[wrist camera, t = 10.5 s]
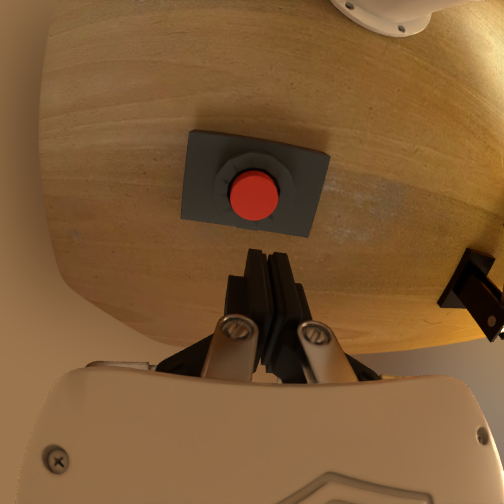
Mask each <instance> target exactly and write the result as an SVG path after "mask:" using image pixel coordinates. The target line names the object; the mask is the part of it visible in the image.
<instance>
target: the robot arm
mask: <svg viewBox="0 0 504 504" xmlns="http://www.w3.org/2000/svg"><path fill="white" fill-rule="evenodd" d="M330 1H331V2H332V4H333V5H334V6H335V7H336V8H337V9H339V10H340V11H341V12H342V13H343V14H344V15H346V16H347V17H348V18H350V19H351V20H352V21H354V22H355V23H357V24H359V25H361V26H363V27H364V28H366V29H369V30H371V31H373V32H376V33H379V34H382V35H386V36H392V37H407V36H410V35H414V34H417V33H419V32H421V31H422V30H423V29H424V28H426V27H427V25H428V23H429V21H430V18H431V14H432V13H433V12H437V11H440V10H444V9H447V8H451V7H455V6H459V5H464V4H468V3H473V2H478V1H484V0H330ZM346 7H348V8H349V9H348V8H346ZM260 357H261V365H265V366H266V373H273V374H274V375H276V376H277V377H278V378H277V383H255V382H251V381H252V374H253V373H254V372H256V369H257V366H258V363H259V360H260ZM66 452H67V453H66ZM15 504H504V472H503V468H502V464H501V461H500V457H499V454H498V451H497V448H496V445H495V442H494V439H493V437H492V434H491V431H490V429H489V426H488V424H487V421H486V419H485V417H484V415H483V412H482V410H481V408H480V406H479V404H478V402H477V400H476V399H475V397H474V395H473V393H472V392H471V390H470V389H469V387H468V386H467V385H466V384H465V383H464V382H462V381H461V380H458V379H456V378H452V377H449V376H443V375H423V376H412V377H401V376H393V375H384V374H381V375H380V376H378V375H377V374H376V373H375V372H374V371H373V370H371V369H370V368H368V367H366V366H365V365H363V364H362V363H360V362H358V361H357V360H356V359H354V358H352V357H351V356H349V355H348V354H346V353H345V352H344V351H343V350H342V348H341V346H340V344H339V342H338V340H337V338H336V336H335V334H334V332H333V331H332V330H331V328H330V327H328V326H327V325H326V324H324V323H322V322H319V321H314V320H312V317H311V313H310V310H309V306H308V303H307V300H306V296H305V293H304V289H303V286H302V284H300V283H295V281H294V278H293V274H292V270H291V267H290V263H289V260H288V256H287V254H286V253H279V252H274V253H273V255H270V254H269V256H268V260H267V257H266V254H263V253H262V250H257V249H249V251H248V255H247V261H246V266H245V272H244V277H241V276H233V275H229V277H228V283H227V290H226V298H225V309H224V316H223V317H222V318H220V319H219V321H218V322H217V325H216V328H215V331H214V333H213V334H212V335H210V336H208V337H206V338H204V339H203V340H201V341H199V342H197V343H195V344H193V345H191V346H190V347H188V348H186V349H184V350H182V351H180V352H178V353H176V354H174V355H173V356H171V357H169V358H167V359H165V360H163V361H162V362H160V363H159V364H158V365H149V362H113V361H112V362H111V361H94V362H91V363H89V364H88V365H87V366H86V367H84V368H79V369H75V370H71V371H69V372H67V373H65V374H64V375H63V376H61V377H60V378H59V379H58V380H57V381H56V382H55V383H54V385H53V386H52V387H51V389H50V390H49V392H48V394H47V396H46V397H45V399H44V401H43V403H42V406H41V408H40V410H39V412H38V414H37V417H36V419H35V422H34V425H33V428H32V430H31V433H30V436H29V439H28V443H27V446H26V450H25V453H24V457H23V462H22V465H21V470H20V474H19V479H18V486H17V493H16V500H15Z"/></svg>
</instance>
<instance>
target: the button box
mask: <svg viewBox="0 0 504 504" xmlns="http://www.w3.org/2000/svg"><path fill="white" fill-rule="evenodd" d="M329 161H330V156H329V155H327V154H326V153H324V152H322V151H317V150H313V149H309V148H305V147H300V146H296V145H291V144H286V143H281V142H276V141H271V140H266V139H260V138H254V137H248V136H242V135H235V134H228V133H221V132H213V131H204V130H192V131H190V132H189V138H188V146H187V155H186V163H185V173H184V183H183V195H182V207H181V219H186V220H193V221H200V222H208V223H215V224H222V225H229V226H235V227H237V228H242V229H249V230H256V231H257V230H262V231H269V232H275V233H282V234H288V235H294V236H300V237H307V238H308V236H309V233H310V230H311V226H312V223H313V219H314V216H315V212H316V209H317V205H318V202H319V198H320V195H321V191H322V187H323V184H324V180H325V176H326V172H327V169H328V165H329ZM251 170H256V171H261V172H264V173H265V174H267V175H268V176H269V177H270V178H271V179H272V180H273V182H274V184H275V186H276V189H277V193H278V203H277V206H276V208H275V210H274V211H273V212H272V213H271V214H270V215H269V216H268V217H266V218H264V219H261V220H247V219H244V218H242V217H240V216H239V215H238V214H237V213H236V212H235V211H234V210H233V208H232V206H231V202H230V194H231V188H232V185H233V182H234V181H235V179H236V178H237V177H238V176H239V175H240V174H242V173H244V172H247V171H251Z"/></svg>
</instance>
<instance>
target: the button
mask: <svg viewBox="0 0 504 504" xmlns="http://www.w3.org/2000/svg"><path fill="white" fill-rule="evenodd" d="M230 202H231V206H232V208H233V210H234V211H235V212H236V213H237V214H238V215H239V216H240V217H242V218H244V219H247V220H261V219H264V218H266V217H268V216H269V215H270V214H271V213H272V212H273V211H274V210H275V208H276V206H277V203H278V193H277V189H276V186H275V184H274V182H273V180H272V179H271V178H270V177H269V176H268V175H267V174H265V173H264V172H261V171H256V170H251V171H247V172H244V173H242V174H240V175H239V176H238V177H237V178H236V179H235V181H234V182H233V185H232V188H231V194H230Z"/></svg>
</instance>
